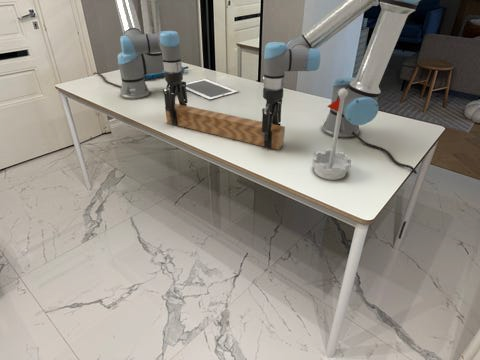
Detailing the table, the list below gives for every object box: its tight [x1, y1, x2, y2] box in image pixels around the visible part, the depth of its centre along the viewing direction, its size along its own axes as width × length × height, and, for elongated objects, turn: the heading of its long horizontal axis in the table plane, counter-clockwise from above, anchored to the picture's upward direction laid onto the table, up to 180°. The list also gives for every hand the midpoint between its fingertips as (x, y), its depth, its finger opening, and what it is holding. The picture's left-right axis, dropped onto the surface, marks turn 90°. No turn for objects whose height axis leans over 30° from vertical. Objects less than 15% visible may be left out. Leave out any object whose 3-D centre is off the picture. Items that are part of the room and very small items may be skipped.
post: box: [164, 102, 286, 151], centre depth 145 cm, size 56×6×8 cm, turn 61°
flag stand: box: [312, 88, 352, 181], centre depth 113 cm, size 13×13×30 cm
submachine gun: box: [143, 66, 189, 81], centre depth 225 cm, size 34×4×25 cm
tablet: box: [186, 78, 239, 101], centre depth 198 cm, size 32×20×1 cm, turn 41°
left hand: (178, 121), depth 156 cm, fingers closed on post, 5 cm apart
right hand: (270, 143), depth 138 cm, fingers closed on post, 5 cm apart
